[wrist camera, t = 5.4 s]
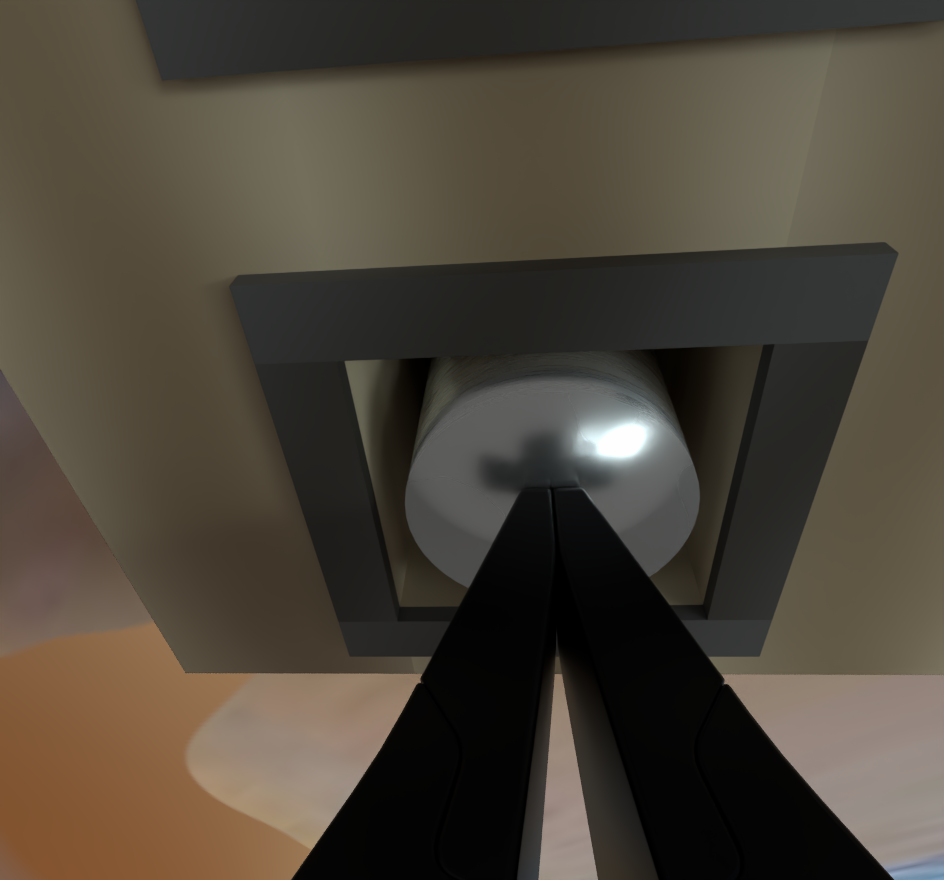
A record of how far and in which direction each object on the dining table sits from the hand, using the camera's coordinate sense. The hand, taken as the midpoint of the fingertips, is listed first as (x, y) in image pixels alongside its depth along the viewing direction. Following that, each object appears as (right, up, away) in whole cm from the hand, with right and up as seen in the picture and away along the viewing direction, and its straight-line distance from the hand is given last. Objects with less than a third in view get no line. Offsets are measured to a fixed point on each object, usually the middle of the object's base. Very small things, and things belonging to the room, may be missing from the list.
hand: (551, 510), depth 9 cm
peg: (0, +3, +5) cm, 6 cm away
